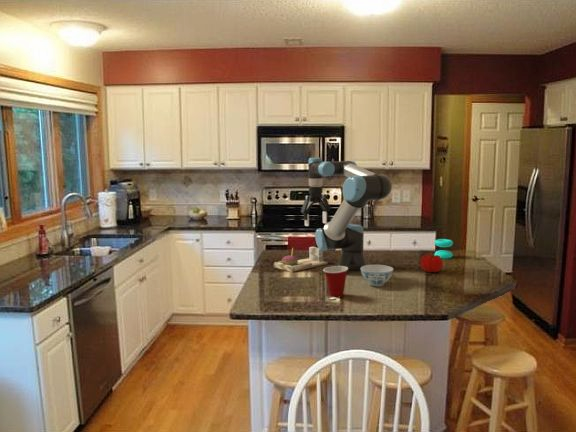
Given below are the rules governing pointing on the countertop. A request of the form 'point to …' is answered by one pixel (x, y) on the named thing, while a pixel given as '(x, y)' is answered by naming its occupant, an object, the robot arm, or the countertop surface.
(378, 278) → the chinaware
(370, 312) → the countertop surface
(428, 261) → the tomato
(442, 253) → the pair of cyan discs
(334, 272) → the plastic cup
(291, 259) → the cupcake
